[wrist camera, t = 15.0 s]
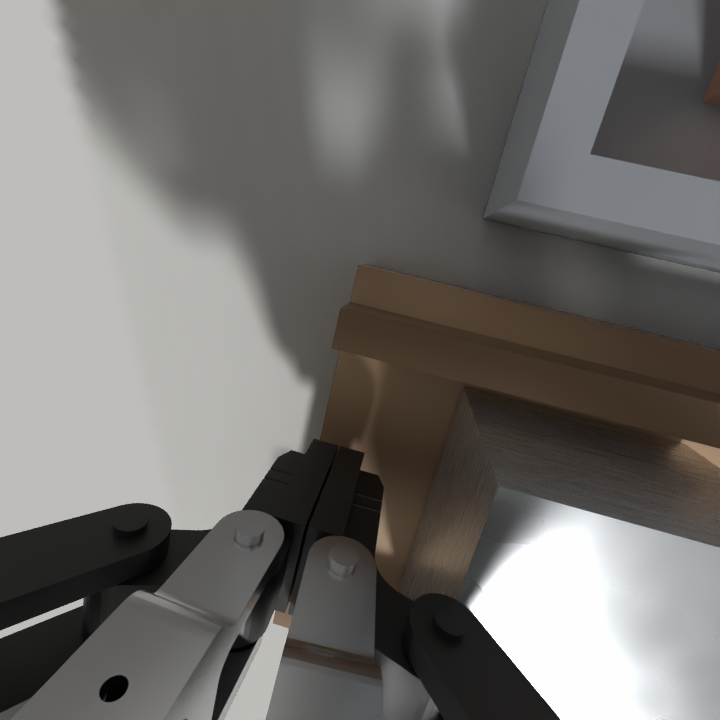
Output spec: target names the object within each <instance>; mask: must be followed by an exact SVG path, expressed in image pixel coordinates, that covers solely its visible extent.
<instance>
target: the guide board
mask: <svg viewBox="0 0 720 720" xmlns="http://www.w3.org/2000/svg"><path fill="white" fill-rule="evenodd" d="M332 348H333V349H337V350H340V352H339V356H338V361H337V365H336V370H335V374H334V379H333V384H332V388H331V393H330V397H329V402H328V406H327V411H326V415H325V420H324V424H323V429H322V433H321V438H320V440H321V441H325V442H328V443H332V444H335V445H339V447H338V451H339V448H340V446H343V447H346V448H350V449H353V450H357V451H360V452H364V453H365V454H364V457H363V461H362V465H361V469H360V470H362V471H366V472H369V473H373V474H376V475H379V478H380V480H381V482H382V484H383V486H384V493H383V500H382V507H381V515H380V522H379V529H378V536H377V544H376V551H375V562H376V565H377V568H378V570H379V572H380V574H381V576H382V577H383V578H384V580H385V581H386V582H387V583H388V584H389V585H390V586H391V587H393V588H394V589H395V590H397V591H398V592H399V593H400V582H401V579H402V576H403V573H404V570H405V567H406V564H407V561H408V557H409V554H410V551H411V548H412V545H413V542H414V539H415V536H416V532H417V529H418V526H419V523H420V520H421V517H422V514H423V511H424V508H425V504H426V501H427V498H428V495H429V492H430V489H431V486H432V483H433V479H434V476H435V473H436V470H437V467H438V464H439V461H440V458H441V455H442V451H443V448H444V445H445V442H446V439H447V436H448V433H449V430H450V426H451V423H452V420H453V417H454V414H455V411H456V408H457V405H458V402H459V398H460V395H461V392H462V389H463V386H464V387H468V388H472V389H475V390H479V391H483V392H487V393H491V394H495V395H499V396H502V397H506V398H510V399H514V400H518V401H522V402H525V403H529V404H533V405H537V406H541V407H545V408H549V409H552V410H556V411H560V412H564V413H568V414H572V415H575V416H579V417H583V418H587V419H591V420H595V421H599V422H602V423H606V424H610V425H614V426H618V427H622V428H625V429H629V430H633V431H637V432H641V433H645V434H649V435H652V436H656V437H660V438H664V439H668V440H672V441H675V442H679V443H683V444H686V445H687V446H689V447H690V448H692V449H693V450H695V451H696V452H697V453H699V454H700V455H702V456H703V457H705V458H706V459H707V460H709V461H710V462H712V463H713V464H715V465H716V466H717V467H719V468H720V350H717V349H713V348H709V347H705V346H701V345H697V344H693V343H688V342H684V341H680V340H676V339H672V338H668V337H664V336H659V335H655V334H651V333H647V332H643V331H639V330H635V329H631V328H626V327H622V326H618V325H614V324H610V323H606V322H602V321H597V320H593V319H589V318H585V317H581V316H577V315H573V314H568V313H564V312H560V311H556V310H552V309H548V308H544V307H539V306H535V305H531V304H527V303H523V302H519V301H515V300H511V299H506V298H502V297H498V296H494V295H490V294H486V293H482V292H477V291H473V290H469V289H465V288H461V287H457V286H453V285H448V284H444V283H440V282H436V281H432V280H428V279H424V278H420V277H415V276H411V275H407V274H403V273H399V272H395V271H391V270H386V269H382V268H378V267H374V266H370V265H366V264H365V265H359V266H358V270H357V275H356V280H355V284H354V289H353V293H352V298H351V302H350V303H348V304H347V305H345V306H344V307H342V308H341V309H340V313H339V318H338V323H337V327H336V332H335V337H334V341H333V346H332ZM337 453H338V452H337ZM292 594H293V592H292ZM291 598H292V595H291ZM291 598H290V601H289V603H288V606H287V609H286V612H285V613H282V612H279V611H275V616H274V620H273V623H274V624H277V625H280V626H284V627H287V628H290V624H291V620H292V616H293V615H289V614H288V611H289V607H290V602H291Z"/></svg>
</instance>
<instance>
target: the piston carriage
mask: <svg viewBox="0 0 720 720" xmlns="http://www.w3.org/2000/svg"><path fill="white" fill-rule="evenodd" d="M400 593H401V594H403V595H404V596H406V597H407V598H409V599H411V600H412V601H415V600H416V599H417V598H418V597H420V596H422V595H424V594H428V593H438V594H443V595H447V596H449V597H452V598H454V599H456V600H458V601H459V602H461V603H462V604H464V605H465V606H466V607H467V608H468V609H469V610H471V612H472V613H473V614H474V615H475V616H476V617H477V618H478V620H479V621H480V622H481V623H482V624H483V626H484V627H485V628H486V629H487V630H488V632H489V633H490V634H491V635H492V636H493V638H494V639H495V640H496V641H497V643H498V644H499V645H500V646H501V647H502V649H503V650H504V651H505V652H506V653H507V655H508V656H509V657H510V658H511V659H512V661H513V662H514V663H515V664H516V665H517V667H518V668H519V669H520V670H521V672H522V673H523V674H524V675H525V676H526V678H527V679H528V680H529V681H530V682H531V684H532V685H533V686H534V687H535V688H536V690H537V691H538V692H539V693H540V695H541V696H542V697H543V698H544V699H545V701H546V702H547V703H548V704H549V705H550V707H551V708H552V709H553V710H554V711H555V713H556V714H557V715H558V716H559V717H560V719H561V720H720V468H719V467H717V466H716V465H715V464H713V463H712V462H710V461H709V460H707V459H706V458H705V457H703V456H702V455H700V454H699V453H697V452H696V451H695V450H693V449H692V448H690V447H689V446H687V445H686V444H683V443H679V442H675V441H672V440H668V439H664V438H660V437H656V436H652V435H649V434H645V433H641V432H637V431H633V430H629V429H625V428H622V427H618V426H614V425H610V424H606V423H602V422H599V421H595V420H591V419H587V418H583V417H579V416H575V415H572V414H568V413H564V412H560V411H556V410H552V409H549V408H545V407H541V406H537V405H533V404H529V403H525V402H522V401H518V400H514V399H510V398H506V397H502V396H499V395H495V394H491V393H487V392H483V391H479V390H475V389H472V388H468V387H464V386H463V389H462V392H461V395H460V398H459V402H458V405H457V408H456V411H455V414H454V417H453V420H452V423H451V426H450V430H449V433H448V436H447V439H446V442H445V445H444V448H443V451H442V455H441V458H440V461H439V464H438V467H437V470H436V473H435V476H434V479H433V483H432V486H431V489H430V492H429V495H428V498H427V501H426V504H425V508H424V511H423V514H422V517H421V520H420V523H419V526H418V529H417V532H416V536H415V539H414V542H413V545H412V548H411V551H410V554H409V557H408V561H407V564H406V567H405V570H404V573H403V576H402V579H401V582H400Z"/></svg>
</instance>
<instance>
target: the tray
mask: <svg viewBox="0 0 720 720" xmlns="http://www.w3.org/2000/svg"><path fill="white" fill-rule="evenodd" d="M719 60H720V0H548V2H547V6H546V9H545V12H544V16H543V19H542V22H541V26H540V29H539V32H538V36H537V39H536V42H535V46H534V49H533V53H532V56H531V59H530V63H529V66H528V69H527V73H526V76H525V79H524V83H523V86H522V89H521V93H520V96H519V100H518V103H517V106H516V110H515V113H514V116H513V120H512V123H511V126H510V130H509V133H508V137H507V140H506V143H505V147H504V150H503V153H502V157H501V160H500V163H499V167H498V170H497V173H496V177H495V180H494V184H493V187H492V190H491V194H490V197H489V200H488V204H487V207H486V210H485V214H484V217H483V219H486V220H490V221H495V222H499V223H504V224H508V225H512V226H517V227H521V228H525V229H530V230H534V231H539V232H543V233H547V234H552V235H556V236H561V237H565V238H569V239H574V240H578V241H583V242H587V243H591V244H596V245H600V246H604V247H609V248H613V249H618V250H622V251H626V252H631V253H635V254H640V255H644V256H648V257H653V258H657V259H661V260H666V261H670V262H675V263H679V264H683V265H688V266H692V267H697V268H701V269H705V270H710V271H714V272H719V273H720V105H716V104H711V103H705V102H703V100H704V97H705V95H706V92H707V90H708V87H709V85H710V82H711V80H712V77H713V75H714V73H715V70H716V68H717V65H718V63H719Z"/></svg>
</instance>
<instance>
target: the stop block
mask: <svg viewBox="0 0 720 720" xmlns="http://www.w3.org/2000/svg"><path fill="white" fill-rule="evenodd" d="M703 102H705V103H711V104H716V105H720V60H719V63H718V65H717V68H716V70H715V73H714V75H713V77H712V80H711V82H710V85H709V87H708V90H707V92H706V95H705V97H704V100H703Z"/></svg>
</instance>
